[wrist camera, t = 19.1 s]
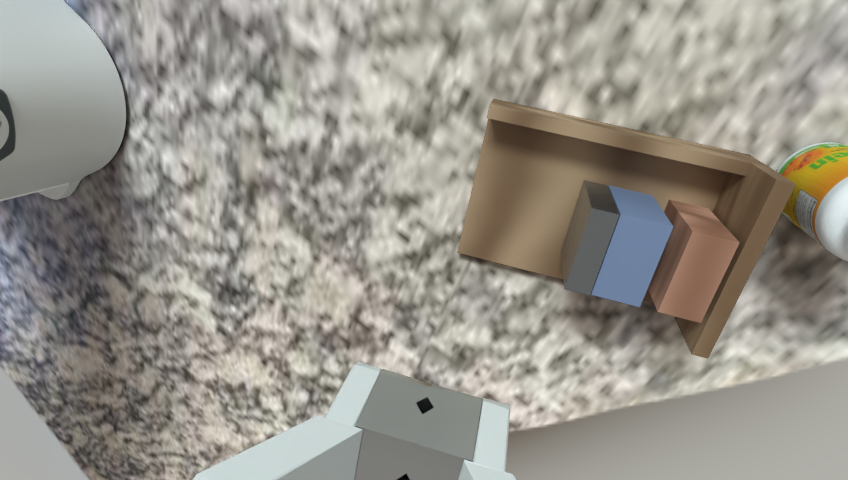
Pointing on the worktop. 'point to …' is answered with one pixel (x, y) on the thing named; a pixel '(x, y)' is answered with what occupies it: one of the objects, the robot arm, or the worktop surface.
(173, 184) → the worktop surface
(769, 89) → the worktop surface
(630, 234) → the blue block
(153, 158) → the worktop surface
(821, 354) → the worktop surface
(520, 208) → the rack
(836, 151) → the supplement bottle
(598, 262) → the bookend
